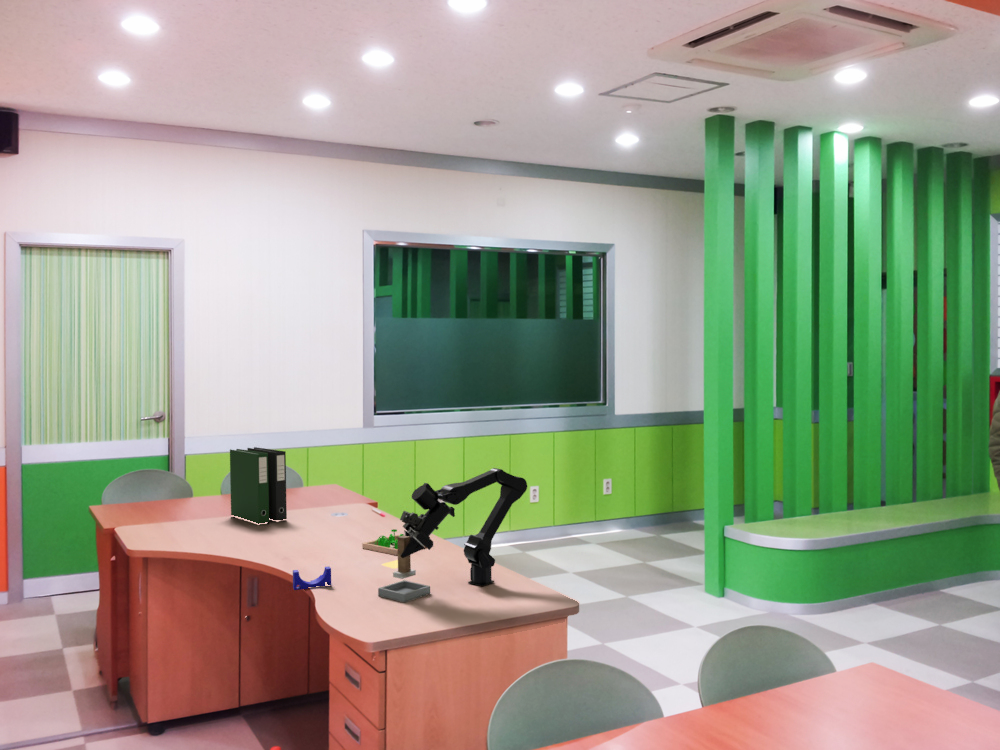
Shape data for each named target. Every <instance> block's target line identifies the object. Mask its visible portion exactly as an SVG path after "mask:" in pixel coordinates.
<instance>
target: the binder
mask: <svg viewBox="0 0 1000 750" xmlns="http://www.w3.org/2000/svg"><path fill="white" fill-rule="evenodd" d="M286 455H287V454H286V451H283V450H277V449H270V448H262V447H256V446H254V447H252V448H251V447H247V448H246V449H242V448H241V449H240V448H236V450H235V449H231V448H230V449H229V471H230V472H229V474H230V475H229V477H230V516H231V515H234V516H238V517H241V518H244V519H247V520H250V521H253V522H256V523H258V524H259V523H265V522H269V523H270V521H269V518H270V519H273V520H283V519H288V518H287V515H288V514H287V471H286V470H287V465H286V464H287V463H286V462H287V461H286V459H287V458H286Z"/></svg>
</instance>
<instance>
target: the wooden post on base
mask: <svg viewBox="0 0 1000 750" xmlns="http://www.w3.org/2000/svg"><path fill="white" fill-rule="evenodd" d="M397 540H398V555H397V570H395V571H393V572H392V574H393V575H392V577H393V578H396V579H401V580H403V579H404V580H405V579H407V578H410V577H413V576H416V572H417V571H416V569H413V568H412V567H411V566H412V565H411V562H412V561H411V555H409V556H407V557H405V558H402V557H400V555H401V554H402V552H403V551H404V549H405V548H406V546H407V545H408V543H409V542H410V536H405V535H404V536H400V537H397Z"/></svg>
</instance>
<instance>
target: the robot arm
mask: <svg viewBox="0 0 1000 750" xmlns="http://www.w3.org/2000/svg"><path fill="white" fill-rule="evenodd" d="M495 483H496V484H498V485H500V491H499V492H500V494H499V497H498V500H496V501H497V502H496V503H495V505H494V507H493V508H492V510H491V511H490V513H489V515H488V516H487V518H486V520H485V521H484V524H483V525H482V527H481V528H480V530H479V532H478V533H476V535H473V534H469V536H468V539H467V540H466V542H465V543H464V548H463V555H464V557H465V558H466V559H467V562H468V564H470V569H469V570H470V572H469V573H470V575H469V576H470V577H469V578H470V579H469V581H467V584H469V583H470V585H474V584H476V585H475V586H478V585H481V586H480V587H485V586H488V585H490V584H489V583H491V584H493V583H492V582H494V583H495V580H494V579H492V567H494V566H495V563H496V559H495V558H494V557H493V556H492V555H491V554H490V553H491V550H492V540H493V538H494V537H495V535H496V533H497V531H498V530H499V528H500V526H501V524H502V522H503V521H504V519H505V517H506V516H507V514H508V513H509V511H510V509H511V507H513V504H515V502H517V501H518V500H519V499H521V497H522V496H523V495H524V494H525V493H526V491H527V490H528V483H527V480H526V479H525V478H523V477H520V476H516V475H512V474H511V473H509V472H506V471H505V470H503V468H502V469H501V468H498V467H497V468H496V467H493V468H491V469H489V470H487V471H486V472H483V473H481V474H478V475H475V476H474V477H472V478H469V479H467V480H465V481H462V482H454V483H449V484H445V485H444V486H442V487H441V488H440V489H436V490H434V488H433V487H432V486H431V485H430V484H429V482H424V483H423V484H422V485H420V486H418V487H417V488H416V489H414V491H412V495H411V499H412V500H413V501H414V502H415V503H416V504H417V505H418V506H420V508H422V509H423V510H425V511H426V510H427V511H426V512H424V513H420V514H418V513H416V512H414V511H413V512H409V511H406V510H403V511H402V514H401V517H400V518H399V520H400V521H401V522H403V523H404V524H403V525H402V528H403V529H404V530H403V533H404V536H410V542H409V543H408V545H407V546H406V548H405V549H404V551H403V552H402V554H401V555H400V557H402V558H405V557H407V556H409V555H410V556H412V555H413V554H415V553H417V552H420V551H422V550H425V549H427V550H429V551H430V550H431V549H432V547H434V541H433V540H432V539H431V537H430V536H431V535H432V533H433V532H434V531H435V530H436V531H438V529H439V528H440V527H439V526H440V524H441V523H442V522H443V521H444V520H445V519H446V517H448V515H450V516H451V517H452V518H454V517H456V515H455V508H454V507H453V506H456V505H457V506H458V505H460V504H461V503H462V502H464V501H465V500H466V499H467V498H468V497H469V496H470V495H471V494H473V493H475V492H476V493H477V492H478V491H480V490H482V489H484V488H486V487H488V486H491V485H493V484H495ZM440 501H442V502H440ZM448 504H450V505H453V506H449V505H448ZM424 546H425V548H424ZM397 553H398V552H397ZM487 584H488V585H487ZM484 585H485V586H484Z"/></svg>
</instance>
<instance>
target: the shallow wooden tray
mask: <svg viewBox="0 0 1000 750" xmlns="http://www.w3.org/2000/svg"><path fill="white" fill-rule="evenodd" d="M399 535H400V534H395V541H396V539H397V537H399ZM385 537H386V538H387V539H388V540H389V536H385ZM386 538H385V539H386ZM376 540H377V539H375V540H371V541H367V542H364V543H362V544H361V545H362V546H361V547H362V549H363V548H364V550H368V549H369V551H374V552H379V553H384V554H388V555H392V556H398V553H397V552H398V549H395V548H392V547H390V548H388V547H383V546H378V541H379V540H380V539H379V540H377V542H376ZM375 543H376V544H375ZM424 548H425V549H426V547H425V546H424Z"/></svg>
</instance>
